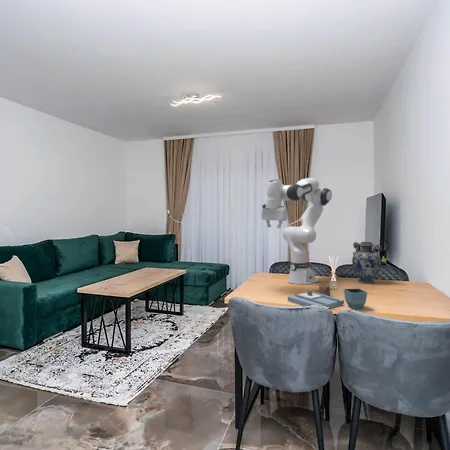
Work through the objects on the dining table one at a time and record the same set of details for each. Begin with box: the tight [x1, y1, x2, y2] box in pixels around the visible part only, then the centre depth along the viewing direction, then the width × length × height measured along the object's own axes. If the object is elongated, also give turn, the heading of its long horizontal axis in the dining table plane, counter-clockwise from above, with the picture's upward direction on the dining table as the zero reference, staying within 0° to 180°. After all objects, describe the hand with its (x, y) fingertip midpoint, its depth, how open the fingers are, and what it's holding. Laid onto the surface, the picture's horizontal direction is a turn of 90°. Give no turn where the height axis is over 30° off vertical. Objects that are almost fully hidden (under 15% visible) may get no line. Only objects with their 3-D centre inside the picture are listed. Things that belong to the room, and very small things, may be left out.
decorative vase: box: [351, 241, 382, 285], centre depth 229 cm, size 21×19×28 cm
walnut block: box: [318, 284, 331, 297], centre depth 192 cm, size 4×4×6 cm
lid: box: [297, 289, 322, 299], centre depth 182 cm, size 9×9×3 cm
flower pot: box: [343, 288, 368, 309], centre depth 171 cm, size 9×9×9 cm
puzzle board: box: [287, 291, 345, 309], centre depth 179 cm, size 20×22×3 cm
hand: (274, 227), depth 204 cm, fingers open, 8 cm apart
